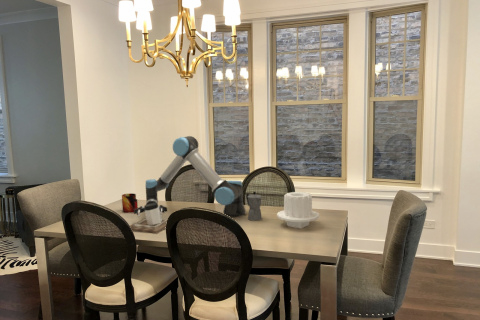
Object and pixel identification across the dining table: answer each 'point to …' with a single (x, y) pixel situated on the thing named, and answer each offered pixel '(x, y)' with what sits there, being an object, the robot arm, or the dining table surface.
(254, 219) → the coffeepot
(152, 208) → the jar
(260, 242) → the dining table surface
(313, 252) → the dining table surface
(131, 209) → the mug
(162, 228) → the board
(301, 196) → the ribbed cylinder on disc
